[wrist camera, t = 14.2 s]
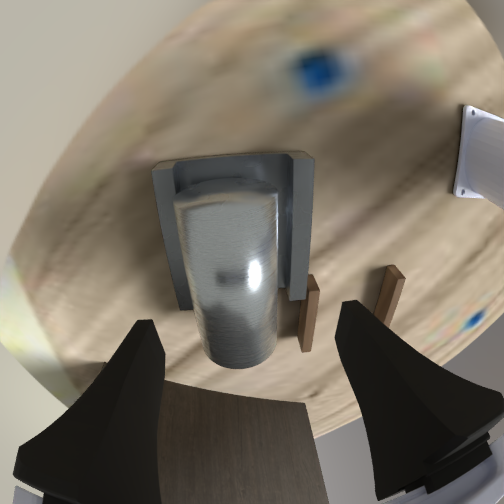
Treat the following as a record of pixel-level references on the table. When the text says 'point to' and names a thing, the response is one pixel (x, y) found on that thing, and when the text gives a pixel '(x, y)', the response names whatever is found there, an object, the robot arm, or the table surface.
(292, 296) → the cradle
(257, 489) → the wood block
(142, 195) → the table surface
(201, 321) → the grey metal cylinder
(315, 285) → the brown piece
